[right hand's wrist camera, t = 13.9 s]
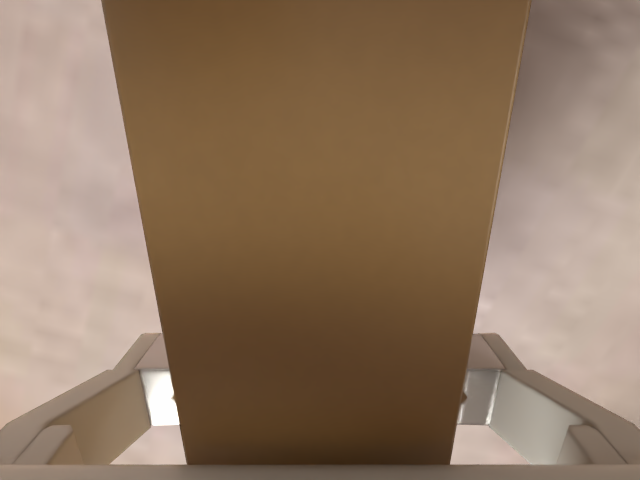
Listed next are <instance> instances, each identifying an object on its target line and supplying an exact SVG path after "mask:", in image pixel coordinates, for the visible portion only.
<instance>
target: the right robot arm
mask: <svg viewBox="0 0 640 480" xmlns="http://www.w3.org/2000/svg"><path fill="white" fill-rule="evenodd" d="M457 424H461V425H489V427H490V428H491V429H492V430H493V431H494V432H495V433H497V434H498V435H499V436H500V437H501V438H502V439H503V440H504V441H505V442H507V443H508V444H509V445H510V446H511V447H512V448H513V449H514V450H516V451H517V452H518V453H519V454H520V455H521V456H522V457H523V458H525V459H526V460H527V461H528V462H529V463H530V464H531V465H109V464H110V463H111V462H112V461H113V460H115V459H116V458H117V457H118V456H119V455H120V454H121V453H122V452H123V451H125V450H126V449H127V448H128V447H129V446H130V445H131V444H132V443H134V442H135V441H136V440H137V439H138V438H139V437H140V436H141V435H143V434H144V433H145V432H146V431H147V430H148V429H149V428H150V427H151V425H179V419H178V414H177V408H176V403H175V398H174V392H173V387H172V381H171V376H170V370H169V365H168V360H167V354H166V349H165V343H164V338H163V333H162V334H161V333H145V334H142V335H141V336H140V337H139V338H138V339H137V341H136V342H135V343H134V344H133V345H132V347H131V348H130V349H129V350H128V352H127V353H126V354H125V355H124V357H123V358H122V359H121V360H120V362H119V363H118V364H117V365H116V367H115V368H114V369H113V370H106V371H104V372H102V373H101V374H99V375H97V376H95V377H93V378H91V379H89V380H87V381H86V382H84V383H82V384H80V385H78V386H76V387H74V388H72V389H71V390H69V391H67V392H65V393H63V394H61V395H59V396H57V397H56V398H54V399H52V400H50V401H48V402H46V403H44V404H43V405H41V406H39V407H37V408H35V409H33V410H31V411H29V412H28V413H26V414H24V415H22V416H20V417H18V418H16V419H14V420H13V421H11V422H9V423H7V424H6V425H5V426H4V427H3V428H2V429H1V430H0V480H640V430H639V429H638V428H637V427H636V426H635V425H634V424H633V423H631V422H629V421H627V420H625V419H624V418H622V417H620V416H618V415H616V414H614V413H612V412H610V411H609V410H607V409H605V408H603V407H601V406H599V405H597V404H596V403H594V402H592V401H590V400H588V399H586V398H584V397H582V396H581V395H579V394H577V393H575V392H573V391H571V390H569V389H567V388H566V387H564V386H562V385H560V384H558V383H556V382H554V381H553V380H551V379H549V378H547V377H545V376H543V375H541V374H539V373H538V372H536V371H534V370H527V369H526V368H525V367H524V365H523V364H522V363H521V362H520V360H519V359H518V358H517V357H516V355H515V354H514V353H513V352H512V350H511V349H510V348H509V347H508V346H507V344H506V343H505V342H504V341H503V339H502V338H501V337H500V336H499V335H498V334H496V333H478V334H473V335H472V341H471V346H470V352H469V358H468V364H467V369H466V375H465V381H464V386H463V392H462V398H461V403H460V409H459V415H458V420H457Z"/></svg>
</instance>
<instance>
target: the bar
mask: <svg viewBox="0 0 640 480" xmlns="http://www.w3.org/2000/svg"><path fill="white" fill-rule="evenodd" d="M101 1H102V7H103V12H104V18H105V23H106V29H107V34H108V39H109V45H110V50H111V56H112V61H113V67H114V72H115V77H116V83H117V88H118V94H119V99H120V105H121V110H122V115H123V121H124V126H125V132H126V137H127V143H128V148H129V153H130V159H131V164H132V170H133V175H134V181H135V186H136V191H137V197H138V202H139V208H140V213H141V219H142V224H143V229H144V235H145V240H146V246H147V251H148V257H149V262H150V267H151V273H152V278H153V284H154V289H155V294H156V300H157V305H158V311H159V316H160V322H161V327H162V332H163V338H164V343H165V349H166V354H167V360H168V365H169V370H170V376H171V381H172V387H173V392H174V398H175V403H176V408H177V414H178V419H179V425H180V430H181V436H182V441H183V446H184V452H185V457H186V463H187V465H450V460H451V454H452V449H453V443H454V437H455V432H456V426H457V420H458V415H459V409H460V403H461V398H462V392H463V386H464V381H465V375H466V369H467V364H468V358H469V352H470V346H471V341H472V335H473V329H474V324H475V318H476V312H477V307H478V301H479V295H480V290H481V284H482V278H483V273H484V267H485V261H486V256H487V250H488V244H489V239H490V233H491V227H492V222H493V216H494V210H495V205H496V199H497V193H498V188H499V182H500V176H501V171H502V165H503V159H504V154H505V148H506V142H507V137H508V131H509V125H510V120H511V114H512V108H513V103H514V97H515V91H516V86H517V80H518V74H519V69H520V63H521V57H522V52H523V46H524V40H525V35H526V29H527V23H528V18H529V12H530V6H531V0H101Z"/></svg>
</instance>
